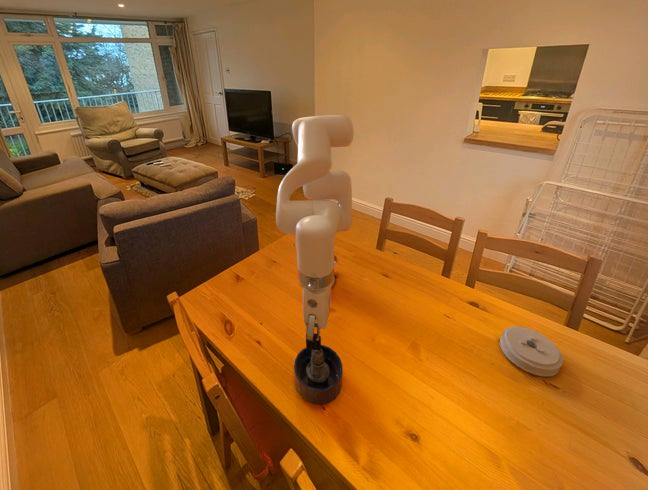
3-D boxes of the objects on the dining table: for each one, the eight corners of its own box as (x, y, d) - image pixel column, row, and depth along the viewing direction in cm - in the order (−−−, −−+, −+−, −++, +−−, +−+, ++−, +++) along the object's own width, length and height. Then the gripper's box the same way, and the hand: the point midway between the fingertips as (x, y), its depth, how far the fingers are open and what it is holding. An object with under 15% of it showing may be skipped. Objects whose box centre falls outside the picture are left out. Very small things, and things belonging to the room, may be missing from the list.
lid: (556, 389, 70) (563, 376, 68) (494, 357, 78) (498, 345, 76) (560, 352, 79) (566, 339, 77) (503, 327, 87) (507, 315, 85)
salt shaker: (328, 393, 72) (328, 360, 67) (305, 389, 73) (303, 356, 68) (330, 370, 77) (330, 338, 72) (308, 366, 79) (306, 335, 74)
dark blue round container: (315, 351, 83) (314, 336, 81) (351, 379, 75) (352, 364, 73) (285, 382, 76) (284, 367, 73) (322, 418, 68) (322, 402, 65)
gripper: (328, 307, 53) (328, 368, 60) (338, 249, 68) (337, 303, 75) (288, 301, 55) (293, 361, 62) (306, 245, 70) (308, 299, 77)
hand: (317, 329), depth 68 cm, fingers open, 9 cm apart
